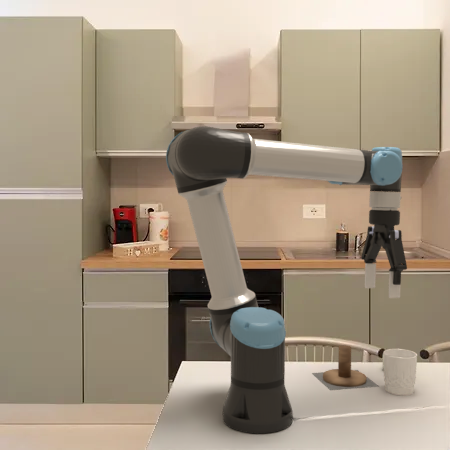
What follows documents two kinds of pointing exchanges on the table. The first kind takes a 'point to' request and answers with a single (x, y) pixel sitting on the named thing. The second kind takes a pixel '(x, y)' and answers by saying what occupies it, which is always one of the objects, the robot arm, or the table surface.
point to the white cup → (399, 371)
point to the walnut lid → (344, 371)
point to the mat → (332, 387)
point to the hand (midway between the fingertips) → (381, 292)
